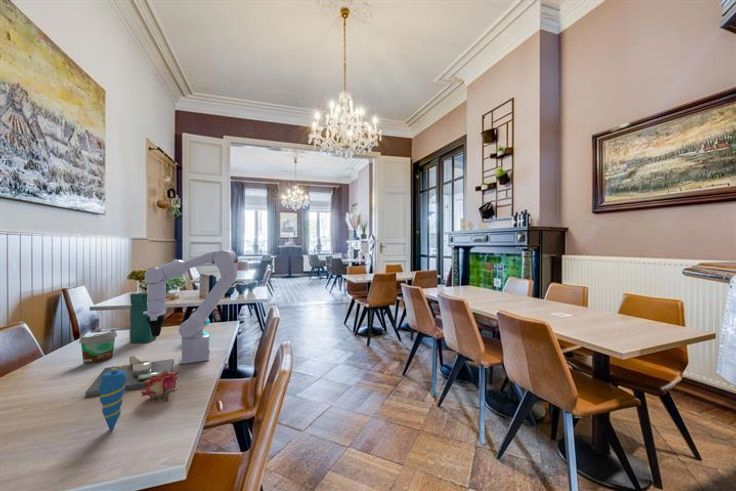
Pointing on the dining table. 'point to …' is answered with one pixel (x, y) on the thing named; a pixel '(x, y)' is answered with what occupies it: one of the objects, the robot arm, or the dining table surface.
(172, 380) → the flower
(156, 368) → the grey flat square slab
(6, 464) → the dining table surface
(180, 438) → the dining table surface
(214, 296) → the robot arm
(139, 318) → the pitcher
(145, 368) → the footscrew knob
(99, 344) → the food container
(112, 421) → the ornament
